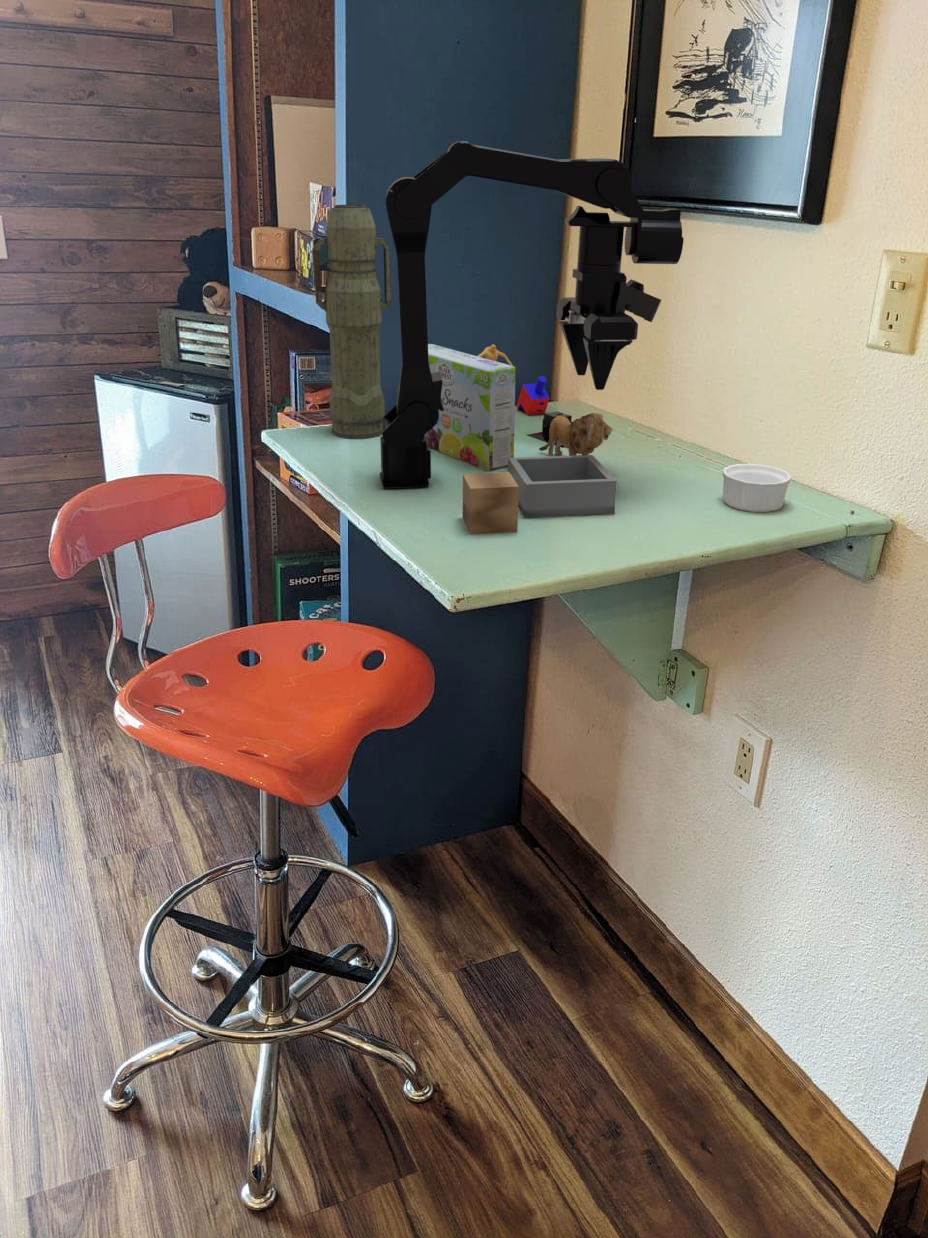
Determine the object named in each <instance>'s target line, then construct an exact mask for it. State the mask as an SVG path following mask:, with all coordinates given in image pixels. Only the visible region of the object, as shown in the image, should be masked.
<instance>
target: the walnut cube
mask: <svg viewBox="0 0 928 1238" xmlns="http://www.w3.org/2000/svg"><path fill="white" fill-rule="evenodd" d="M518 496H519V486H518V485H517V483H516V482H515V480H514V479H513V477H512V475H511V474H510V472H508V471H505V472H483V473H481V472H478V473H463V474H462V520H463V522H464V525H465V527H466V530H467V531H468V534H469V535H485V534H487V535H489V534H490V535H491V534H505V533H506V534H507V533H510V534H511V533H518V524H519V522H518V521H519V520H518V519H519V508H518Z"/></svg>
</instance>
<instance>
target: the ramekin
mask: <svg viewBox="0 0 928 1238" xmlns="http://www.w3.org/2000/svg"><path fill="white" fill-rule="evenodd" d="M722 476H723V481H722V482H723V484H722V485H723V487H722V491H723V492H722V499H723V501H724V503H725V504H726V505H727V506H729V507H731V508H734V509H737V510H741V511H745V512H753V513H769V512H774V511H778V510H779V509H781V508H782V507H783V506H784V501H785V498H786V494H787V490H788V488H789V487H788V486H789V484H790V482H791V479H792V476H791V474H790V473H789V472H787V471H785V470H784V469H781V468H779V467H775V466H771V465H770V466H769V465H766V464H765V465H764V464H758V463H736V464H732V465H727V466H725V467H724V468H723V469H722Z"/></svg>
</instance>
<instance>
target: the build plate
mask: <svg viewBox="0 0 928 1238" xmlns="http://www.w3.org/2000/svg"><path fill="white" fill-rule="evenodd" d="M558 416H563V417H566V418H568V419H569V421H570V423H573V421H572V417H573V416H572V415H571V414H567V413H563V412H561V411H551V412H545V413H543V418H542V422H541V423H542V425H541V430H542V431H540V432H533V433H528V434H526V436H528V437H530V438H533V439H536V440H538V441H542V442H544V443H546V444H547V443H548V441H549V439H550V437H549V429H550V425H551V422H552V420H553V419H554V418H556V417H558ZM558 438H559V437H557V439H556V442H557V440H558ZM556 442H555V445H554V446H556ZM564 448H566V447H564V446H563V445H561V447H560V449H564Z"/></svg>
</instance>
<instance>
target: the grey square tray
mask: <svg viewBox="0 0 928 1238" xmlns="http://www.w3.org/2000/svg"><path fill="white" fill-rule="evenodd" d="M507 472H510V474H511V475H512V477H513V479H514V480H515V482H516V483H517V485H518V486H519V496H518V510H520V512H521V514H522V516H523V517H524V518H525V519H526V518H527V519H531V518H549V517H570V516H571V517H576V516H591V515H592V516H597V515H614V514H615V512H616V511H615V510H616V498H617V486H618V485H617V484H618V480H617V479H616V478H615V477H614V476H613V475H612V474H611V473H610V471H609V470H607V469H606V467H605V466H604V465H602V463H601V462H599V460H598V459H597V458H596V457H595V456H594V455H593V454H588V455H582V454H579V455H578V454H577V455H573V456H569V455H553V456H548V455H547V456H546V455H545V456H527V457H526V456H521V457H520V456H519V457H514V458H508V466H507Z"/></svg>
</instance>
